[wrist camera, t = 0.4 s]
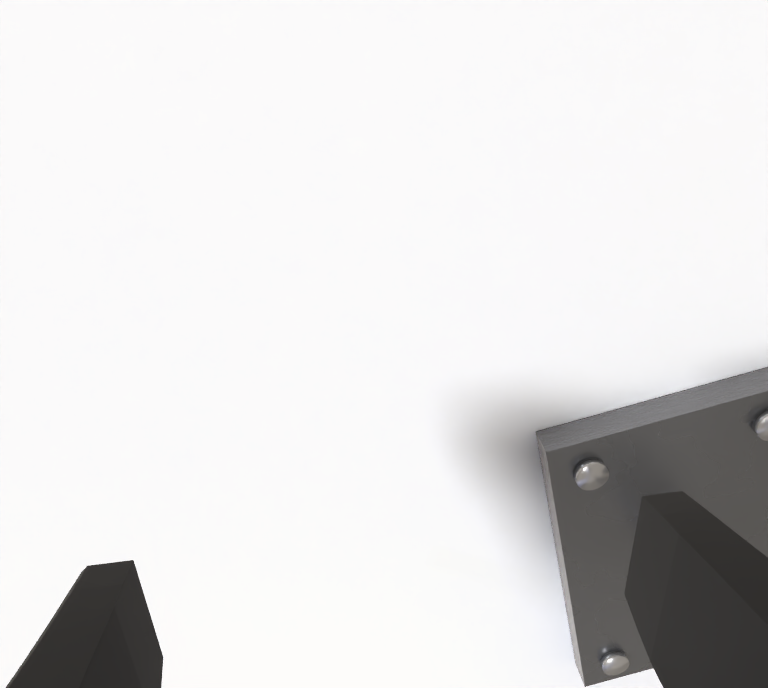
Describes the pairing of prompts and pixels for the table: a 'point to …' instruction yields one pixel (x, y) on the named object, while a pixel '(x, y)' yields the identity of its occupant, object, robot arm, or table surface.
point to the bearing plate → (641, 478)
